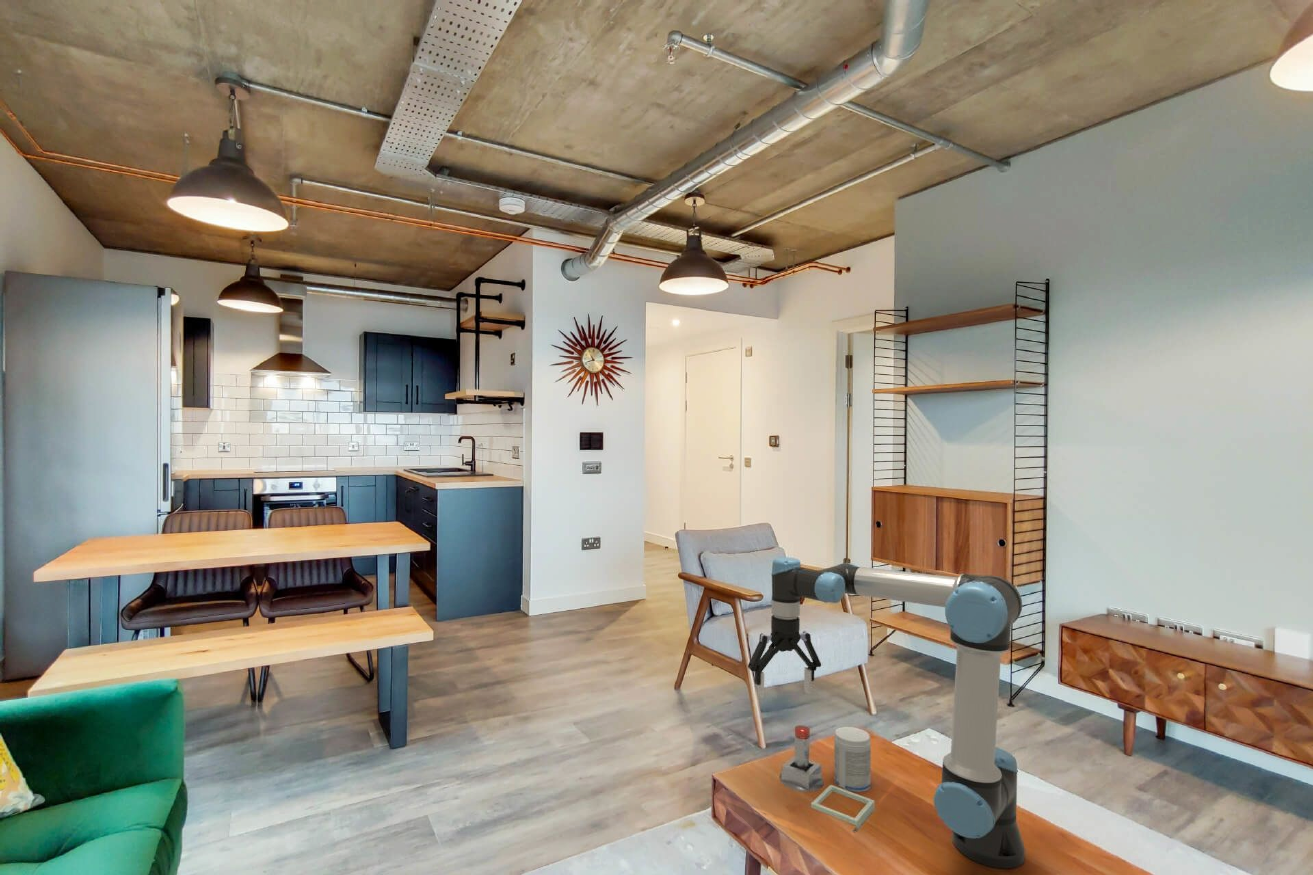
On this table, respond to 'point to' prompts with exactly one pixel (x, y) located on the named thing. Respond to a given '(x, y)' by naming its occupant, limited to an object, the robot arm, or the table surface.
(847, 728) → the supplement tub
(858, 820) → the tray
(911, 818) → the table surface
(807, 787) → the grey socket fixture
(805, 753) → the red capped bottle
